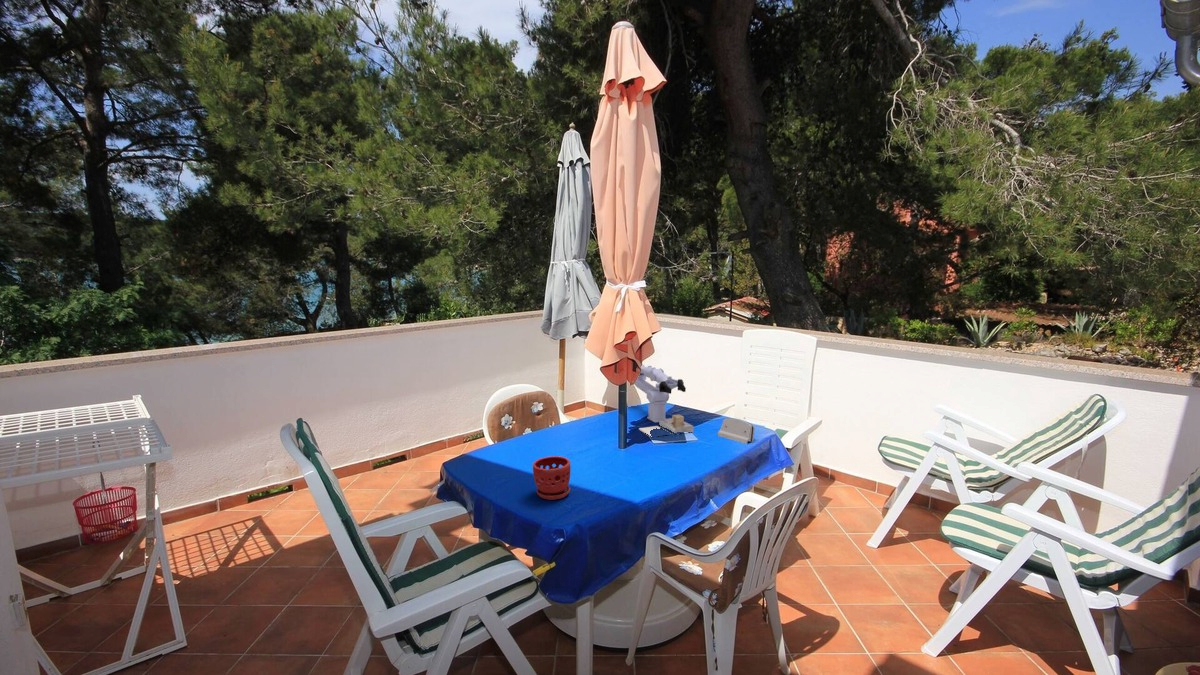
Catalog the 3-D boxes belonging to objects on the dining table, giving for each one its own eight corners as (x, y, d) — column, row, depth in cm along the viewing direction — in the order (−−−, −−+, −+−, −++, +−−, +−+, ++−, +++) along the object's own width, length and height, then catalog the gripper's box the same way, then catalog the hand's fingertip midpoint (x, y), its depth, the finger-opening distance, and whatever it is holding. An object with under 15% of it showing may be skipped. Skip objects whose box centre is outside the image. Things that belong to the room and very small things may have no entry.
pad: (638, 429, 268) (638, 428, 267) (657, 427, 271) (657, 425, 271) (651, 437, 255) (651, 436, 255) (670, 435, 258) (670, 434, 258)
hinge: (716, 435, 257) (721, 414, 258) (722, 436, 260) (727, 416, 261) (747, 444, 245) (752, 422, 245) (752, 445, 248) (757, 423, 248)
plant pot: (555, 484, 203) (554, 452, 201) (578, 494, 193) (578, 462, 191) (526, 494, 194) (525, 461, 192) (549, 506, 184) (548, 471, 183)
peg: (672, 429, 267) (672, 415, 266) (679, 428, 269) (679, 414, 268) (676, 431, 264) (676, 417, 263) (683, 430, 265) (683, 416, 264)
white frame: (659, 425, 274) (659, 419, 273) (677, 423, 277) (677, 417, 277) (674, 434, 259) (674, 428, 258) (693, 432, 262) (693, 426, 262)
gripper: (652, 374, 271) (664, 384, 258) (678, 372, 276) (691, 381, 264) (651, 388, 273) (663, 398, 260) (677, 385, 278) (690, 395, 266)
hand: (677, 390), depth 262 cm, fingers open, 7 cm apart
